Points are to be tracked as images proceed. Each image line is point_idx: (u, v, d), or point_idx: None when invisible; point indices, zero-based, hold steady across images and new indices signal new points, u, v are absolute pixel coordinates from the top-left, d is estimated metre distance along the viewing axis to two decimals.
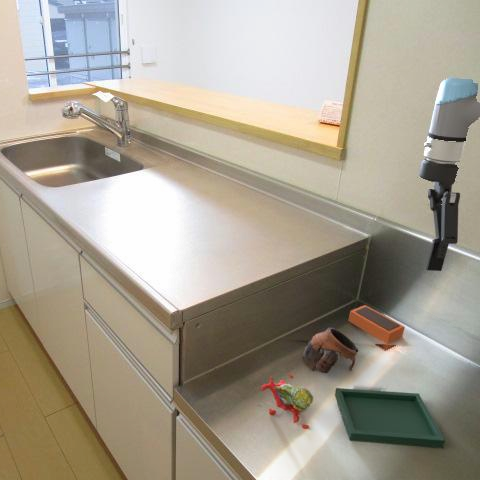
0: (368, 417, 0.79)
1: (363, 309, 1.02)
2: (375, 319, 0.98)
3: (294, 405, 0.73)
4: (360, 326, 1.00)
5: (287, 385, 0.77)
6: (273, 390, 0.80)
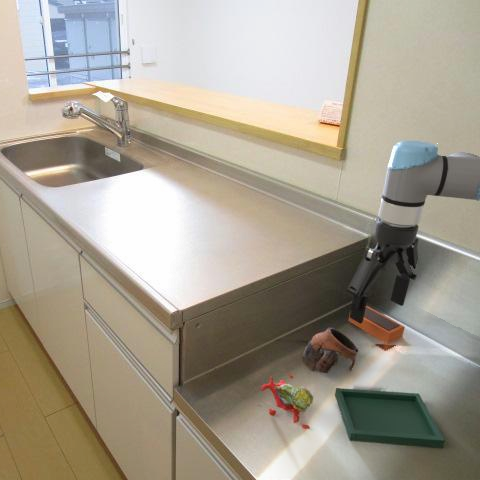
0: (368, 417, 0.79)
1: None
2: (375, 319, 0.98)
3: (294, 405, 0.73)
4: (360, 326, 1.00)
5: (287, 385, 0.77)
6: (273, 390, 0.80)
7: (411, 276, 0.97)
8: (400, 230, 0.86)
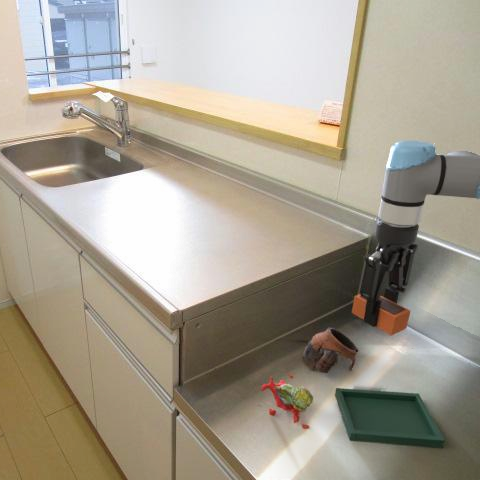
0: (368, 417, 0.79)
1: None
2: None
3: (294, 405, 0.73)
4: None
5: (287, 385, 0.77)
6: (273, 390, 0.80)
7: (400, 288, 0.96)
8: (401, 230, 0.86)
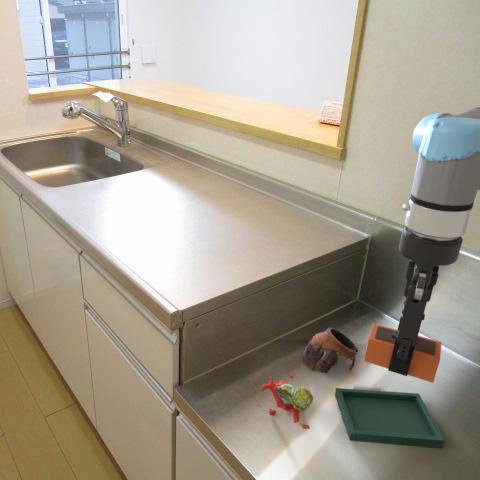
0: (368, 417, 0.79)
1: (380, 331, 0.74)
2: None
3: (294, 405, 0.73)
4: (387, 356, 0.72)
5: (287, 385, 0.77)
6: (273, 390, 0.80)
7: None
8: (452, 244, 0.61)
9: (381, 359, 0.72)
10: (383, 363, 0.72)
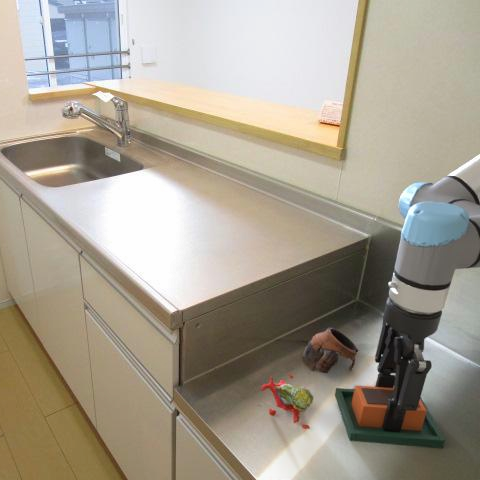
0: None
1: (366, 393, 0.77)
2: None
3: (294, 405, 0.73)
4: (381, 418, 0.76)
5: (287, 385, 0.77)
6: (273, 390, 0.80)
7: None
8: (438, 315, 0.67)
9: (375, 421, 0.76)
10: (377, 424, 0.76)
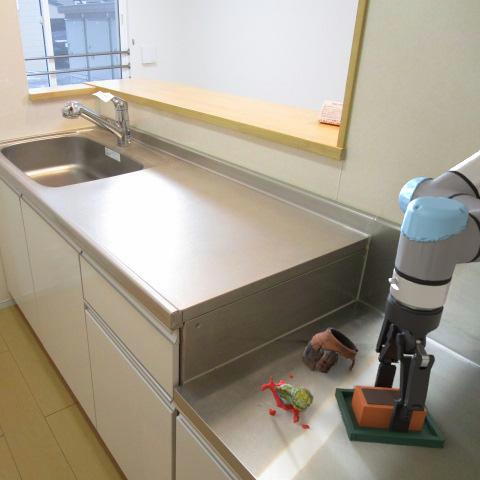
0: None
1: (366, 394, 0.77)
2: (393, 401, 0.76)
3: (294, 405, 0.73)
4: (381, 418, 0.76)
5: (287, 385, 0.77)
6: (273, 390, 0.80)
7: None
8: (440, 311, 0.66)
9: (375, 421, 0.76)
10: (377, 424, 0.76)
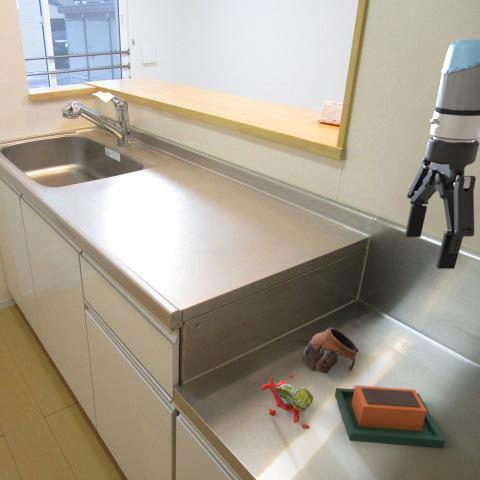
0: None
1: (366, 394, 0.77)
2: (393, 401, 0.76)
3: (294, 405, 0.73)
4: (381, 418, 0.76)
5: (287, 385, 0.77)
6: (273, 390, 0.80)
7: None
8: (477, 144, 0.74)
9: (375, 421, 0.76)
10: (377, 424, 0.76)
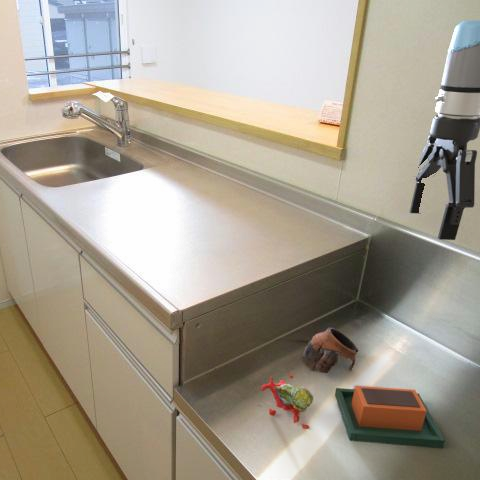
0: None
1: (366, 394, 0.77)
2: (393, 401, 0.76)
3: (294, 405, 0.73)
4: (381, 418, 0.76)
5: (287, 385, 0.77)
6: (273, 390, 0.80)
7: None
8: (479, 120, 0.78)
9: (375, 421, 0.76)
10: (377, 424, 0.76)
